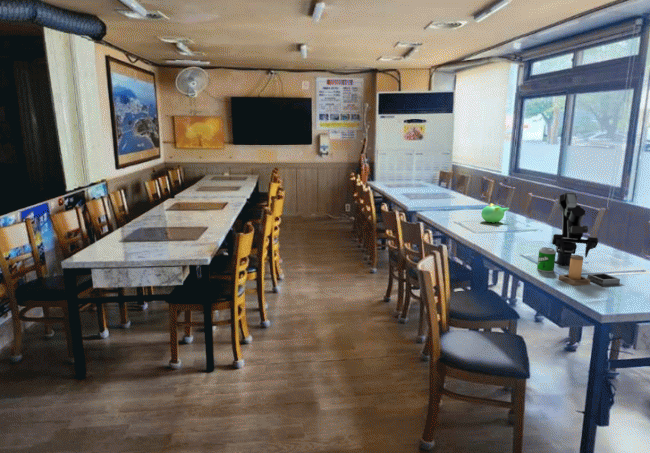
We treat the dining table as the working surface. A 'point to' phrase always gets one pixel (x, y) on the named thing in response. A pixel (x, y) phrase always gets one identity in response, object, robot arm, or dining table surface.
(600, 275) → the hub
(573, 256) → the wooden dowel rod
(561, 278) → the stand
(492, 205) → the toy bird
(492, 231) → the dining table surface
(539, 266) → the soda can
